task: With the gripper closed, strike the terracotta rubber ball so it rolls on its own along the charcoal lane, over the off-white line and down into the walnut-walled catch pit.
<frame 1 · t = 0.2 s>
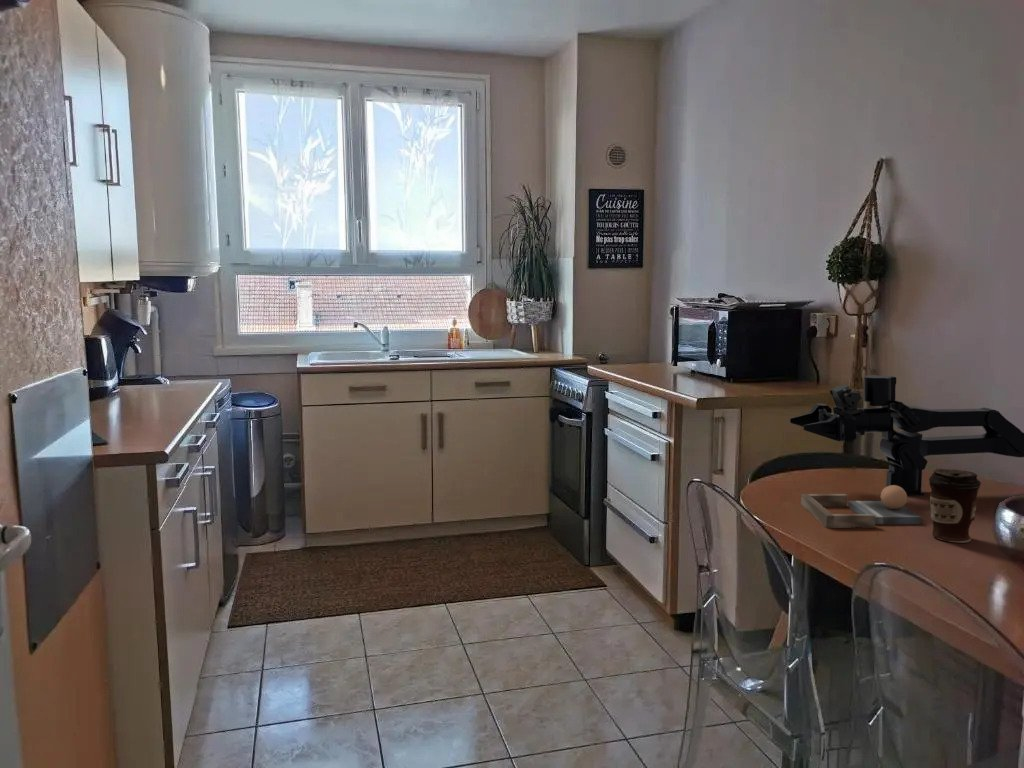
hand: (796, 424, 180), 17 cm above the table, tool horizontal, fingers open, 9 cm apart
coffee cup: (950, 539, 148), on the table
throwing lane: (860, 515, 163), on the table
ball: (893, 497, 162), point 4 cm above the table, touching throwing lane
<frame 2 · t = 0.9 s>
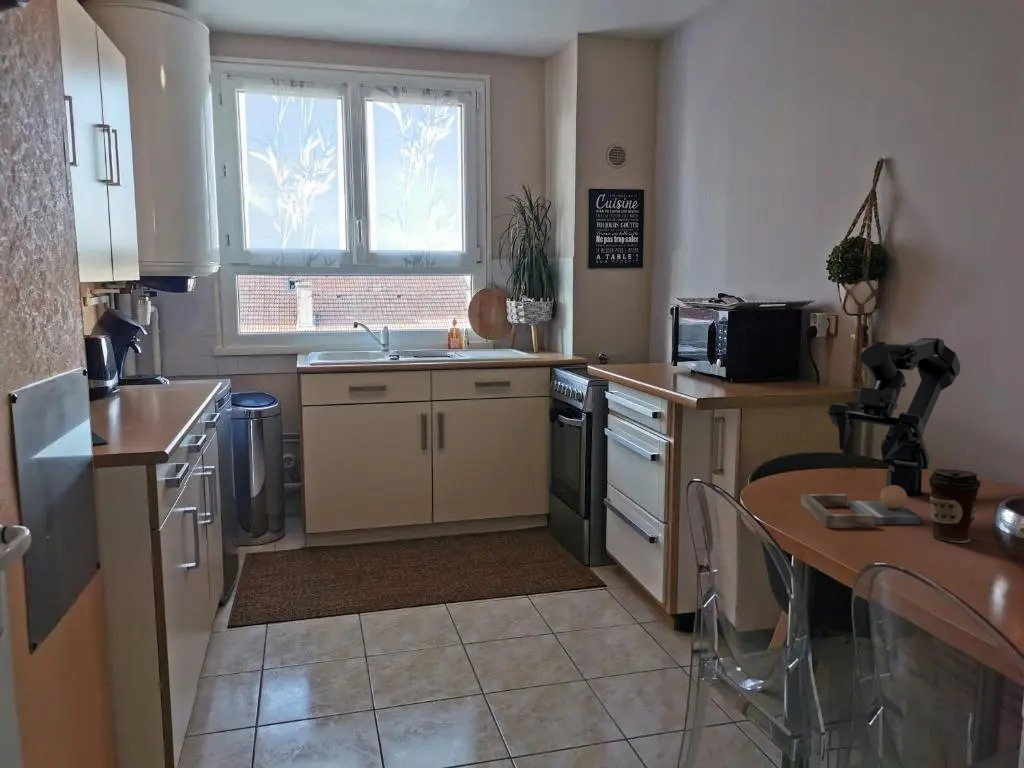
hand: (862, 453, 164), 13 cm above the table, tool tilted 40°, fingers open, 9 cm apart
nothing on the table moved.
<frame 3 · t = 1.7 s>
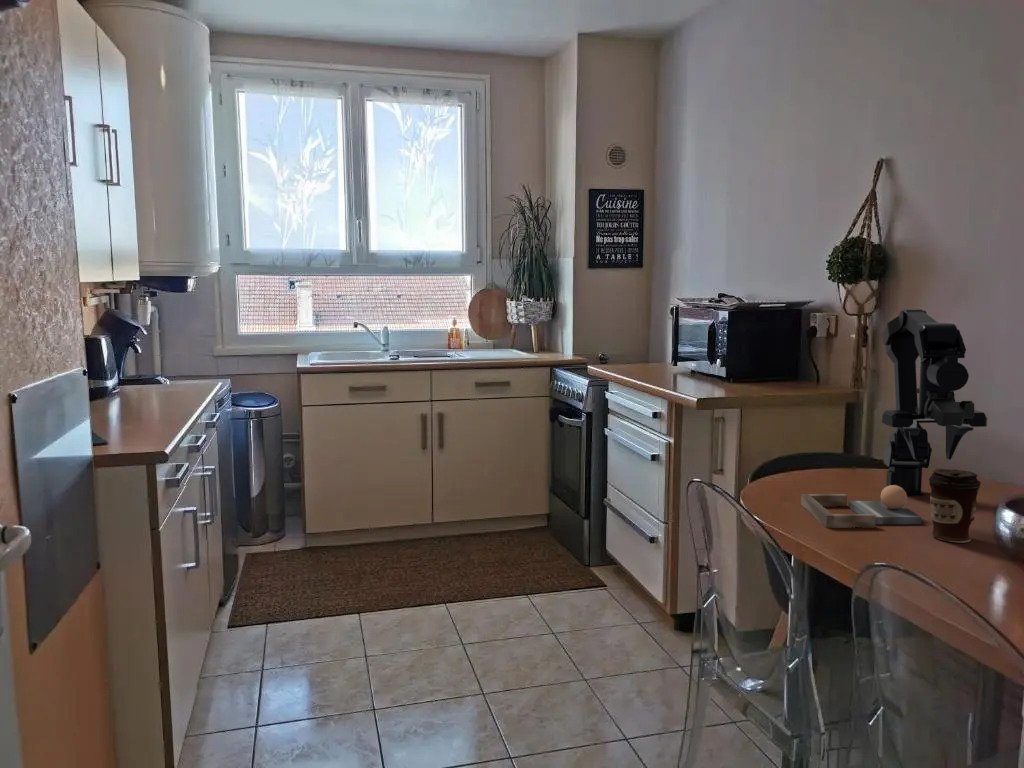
hand: (932, 459, 161), 12 cm above the table, tool pointing down, fingers open, 6 cm apart
nothing on the table moved.
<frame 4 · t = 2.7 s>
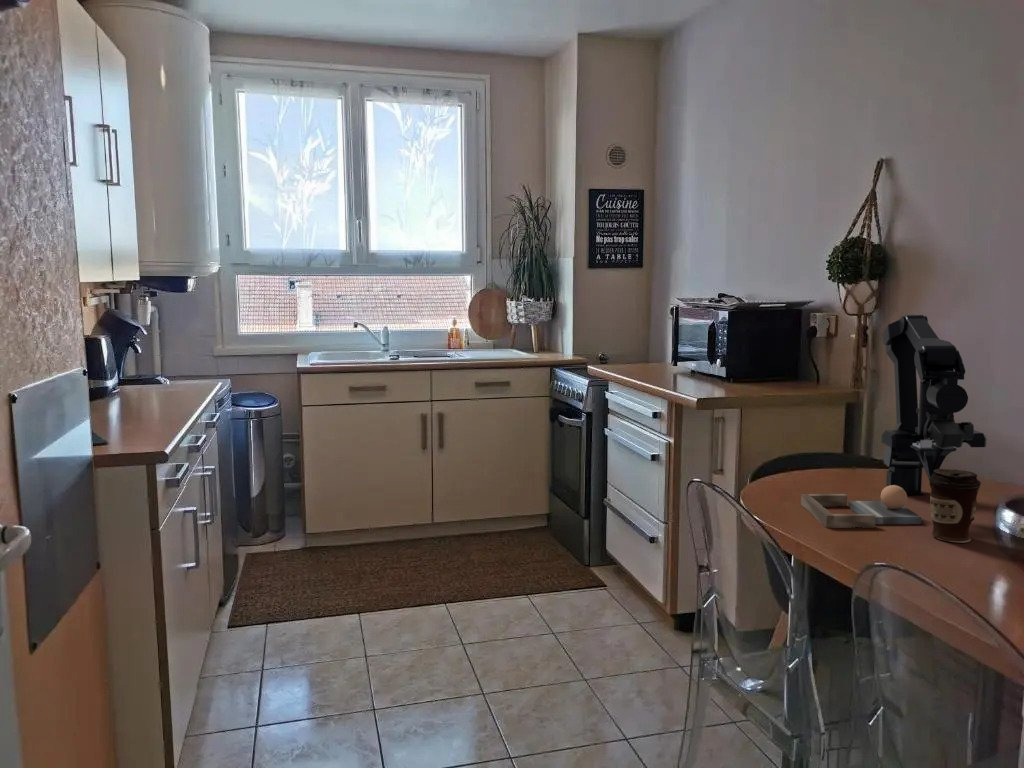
hand: (931, 479, 161), 8 cm above the table, tool pointing down, fingers closed
nothing on the table moved.
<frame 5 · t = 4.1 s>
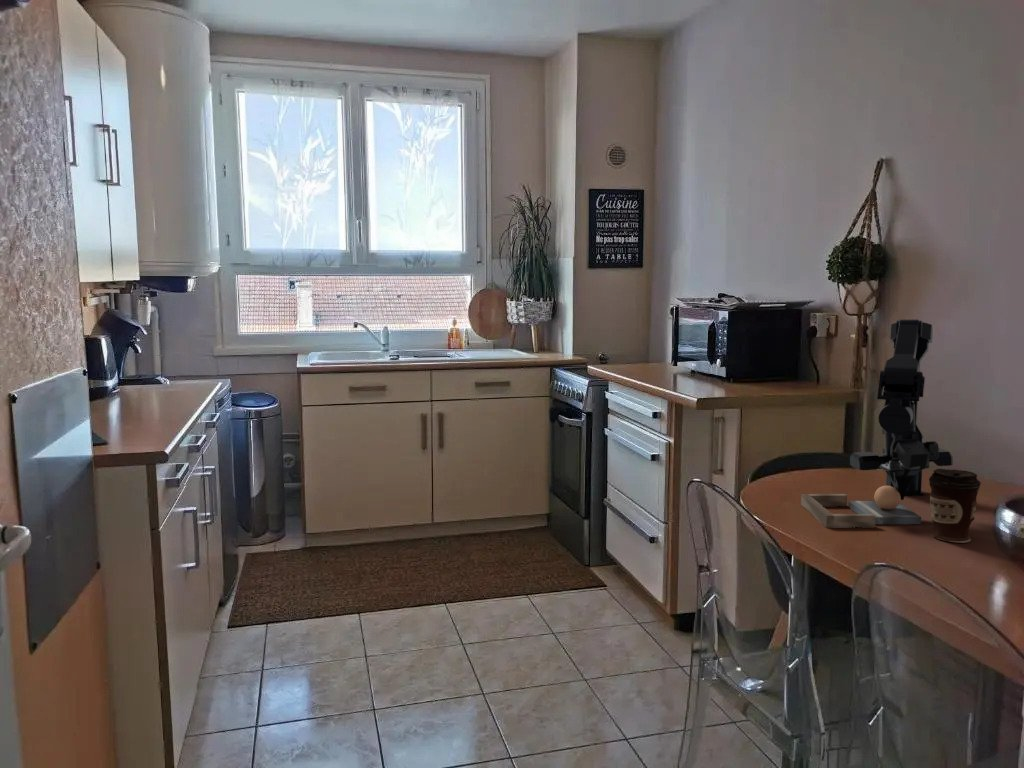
hand: (901, 499, 162), 4 cm above the table, tool pointing down, fingers closed, pressing on ball
ball: (887, 497, 162), point 4 cm above the table, tilted 31°, touching gripper, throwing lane
everything else where it was.
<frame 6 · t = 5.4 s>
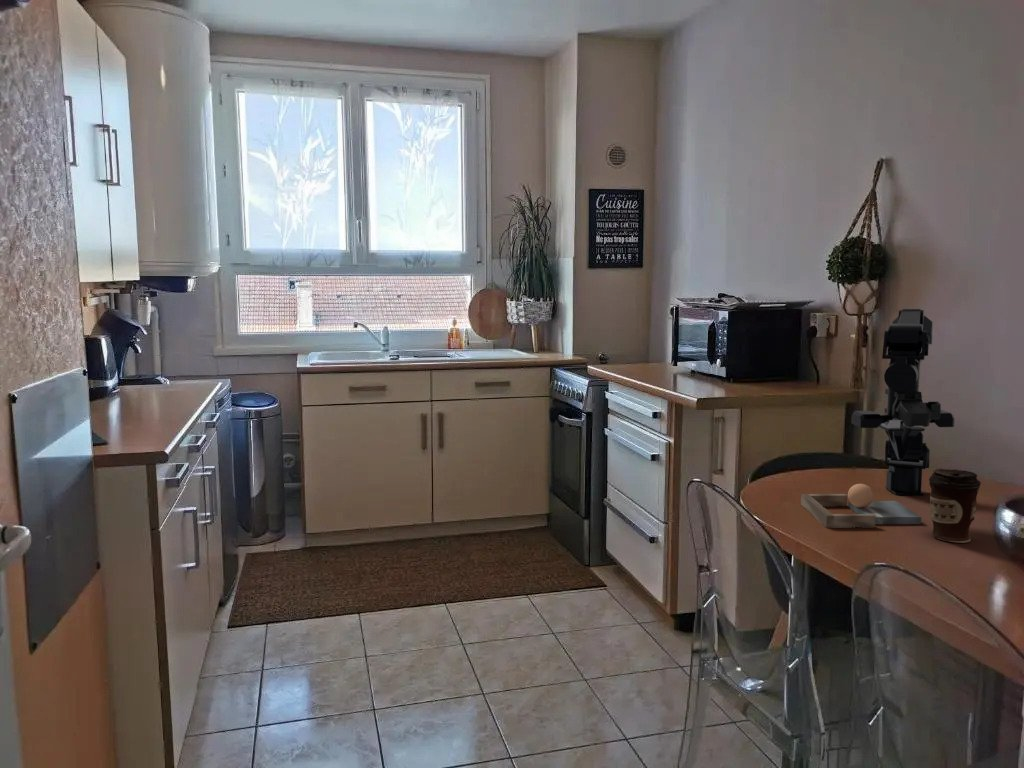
hand: (900, 459, 162), 12 cm above the table, tool pointing down, fingers closed
ball: (860, 495, 164), point 4 cm above the table, tilted 145°, touching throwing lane
everything else where it was.
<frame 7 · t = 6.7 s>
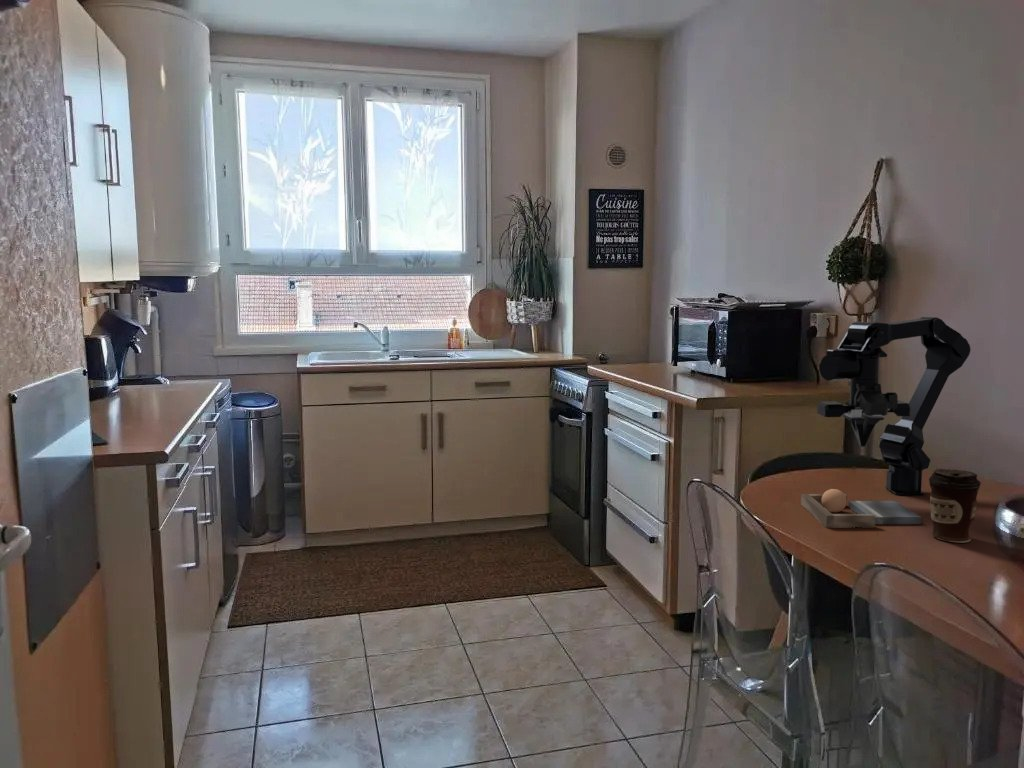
hand: (862, 446, 175), 12 cm above the table, tool pointing down, fingers closed
ball: (834, 500, 166), point 2 cm above the table, tilted 81°
everything else where it was.
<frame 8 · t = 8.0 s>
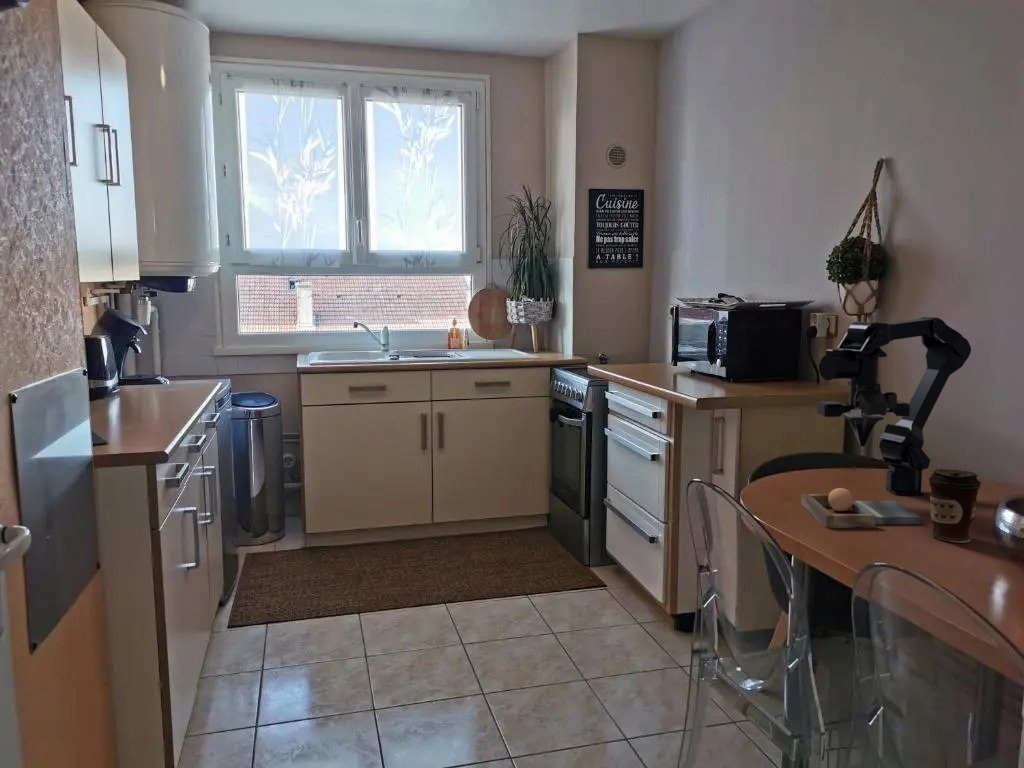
hand: (861, 446, 175), 12 cm above the table, tool pointing down, fingers closed
ball: (840, 499, 167), point 2 cm above the table, tilted 113°
everything else where it was.
at the end: ball inside the target area (4.3 cm from its centre), point 2.5 cm above the table; ball moved 10.4 cm from its start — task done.
